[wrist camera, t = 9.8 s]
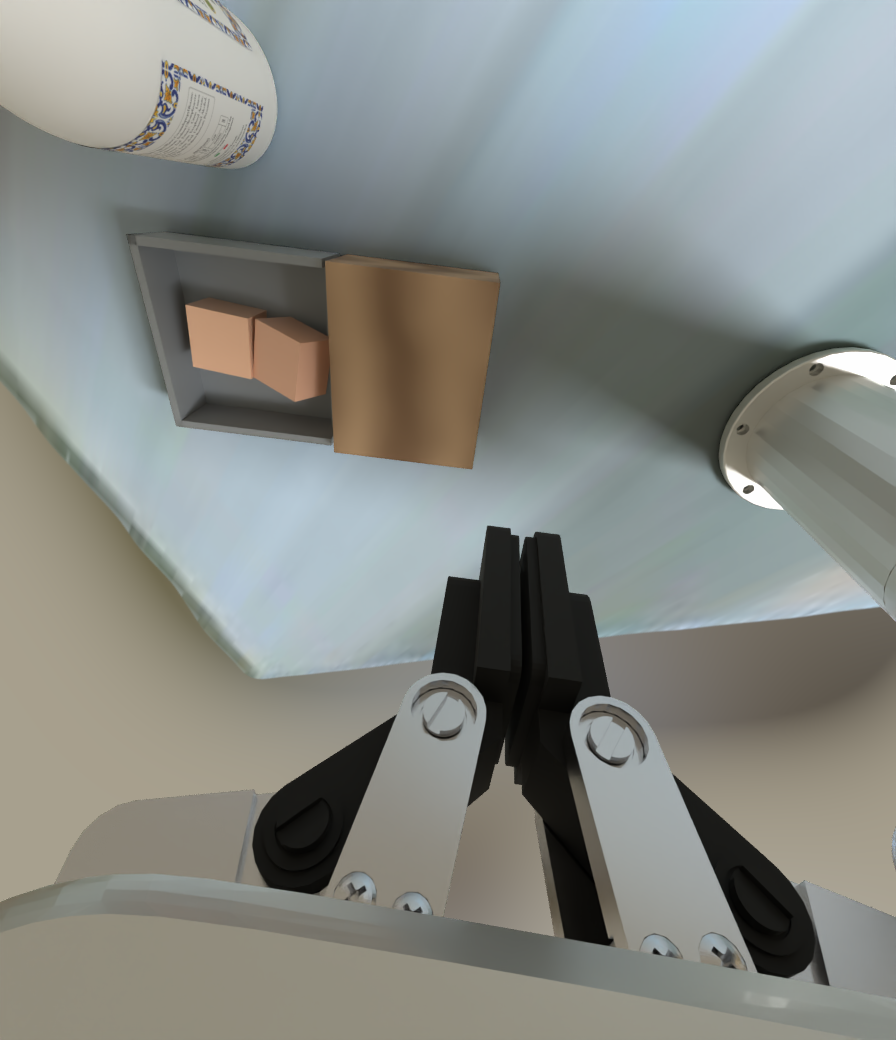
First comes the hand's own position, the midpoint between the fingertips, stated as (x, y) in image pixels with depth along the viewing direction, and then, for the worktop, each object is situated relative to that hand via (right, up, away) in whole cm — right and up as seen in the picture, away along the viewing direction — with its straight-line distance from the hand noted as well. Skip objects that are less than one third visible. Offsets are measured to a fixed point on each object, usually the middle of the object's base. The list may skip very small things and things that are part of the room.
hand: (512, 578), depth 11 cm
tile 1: (-12, +13, +21) cm, 28 cm away
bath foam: (-14, +26, +15) cm, 33 cm away
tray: (-15, +15, +22) cm, 31 cm away
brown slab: (-4, +13, +22) cm, 26 cm away
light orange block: (-17, +13, +19) cm, 29 cm away
